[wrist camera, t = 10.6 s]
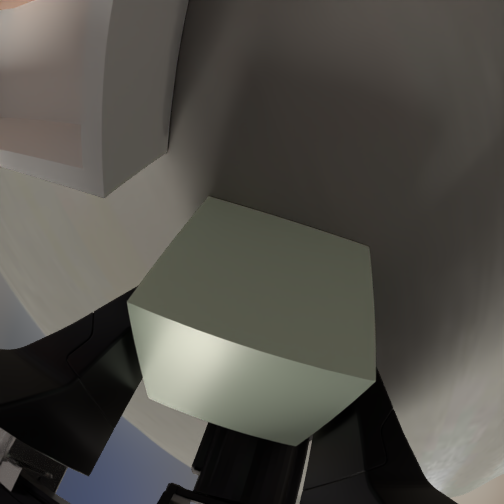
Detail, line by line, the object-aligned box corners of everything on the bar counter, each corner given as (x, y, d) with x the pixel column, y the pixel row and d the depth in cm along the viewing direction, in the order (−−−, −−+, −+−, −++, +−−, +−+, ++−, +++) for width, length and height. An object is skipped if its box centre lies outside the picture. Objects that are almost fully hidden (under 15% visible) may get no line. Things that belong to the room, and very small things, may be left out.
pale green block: (369, 246, 9) (375, 381, 5) (314, 342, 12) (295, 446, 8) (208, 196, 9) (126, 302, 5) (196, 304, 12) (148, 398, 9)
